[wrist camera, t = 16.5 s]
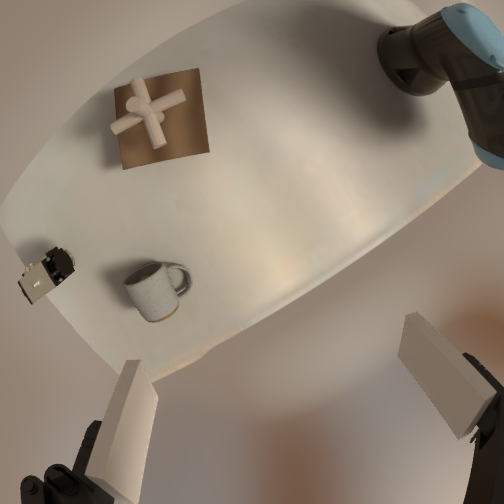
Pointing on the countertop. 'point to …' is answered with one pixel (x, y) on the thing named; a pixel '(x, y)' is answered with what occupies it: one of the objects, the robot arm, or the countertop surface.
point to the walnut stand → (165, 121)
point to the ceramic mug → (155, 290)
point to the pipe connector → (147, 111)
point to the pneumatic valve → (46, 273)
